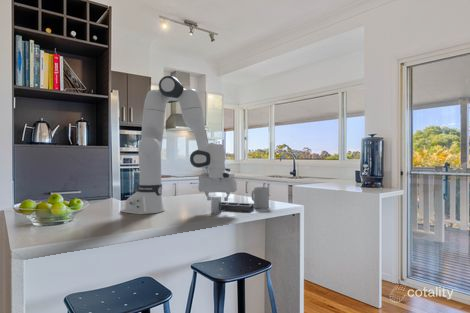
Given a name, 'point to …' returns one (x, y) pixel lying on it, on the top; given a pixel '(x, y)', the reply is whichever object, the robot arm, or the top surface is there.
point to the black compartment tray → (237, 206)
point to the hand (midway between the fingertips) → (217, 200)
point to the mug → (260, 197)
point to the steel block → (215, 204)
